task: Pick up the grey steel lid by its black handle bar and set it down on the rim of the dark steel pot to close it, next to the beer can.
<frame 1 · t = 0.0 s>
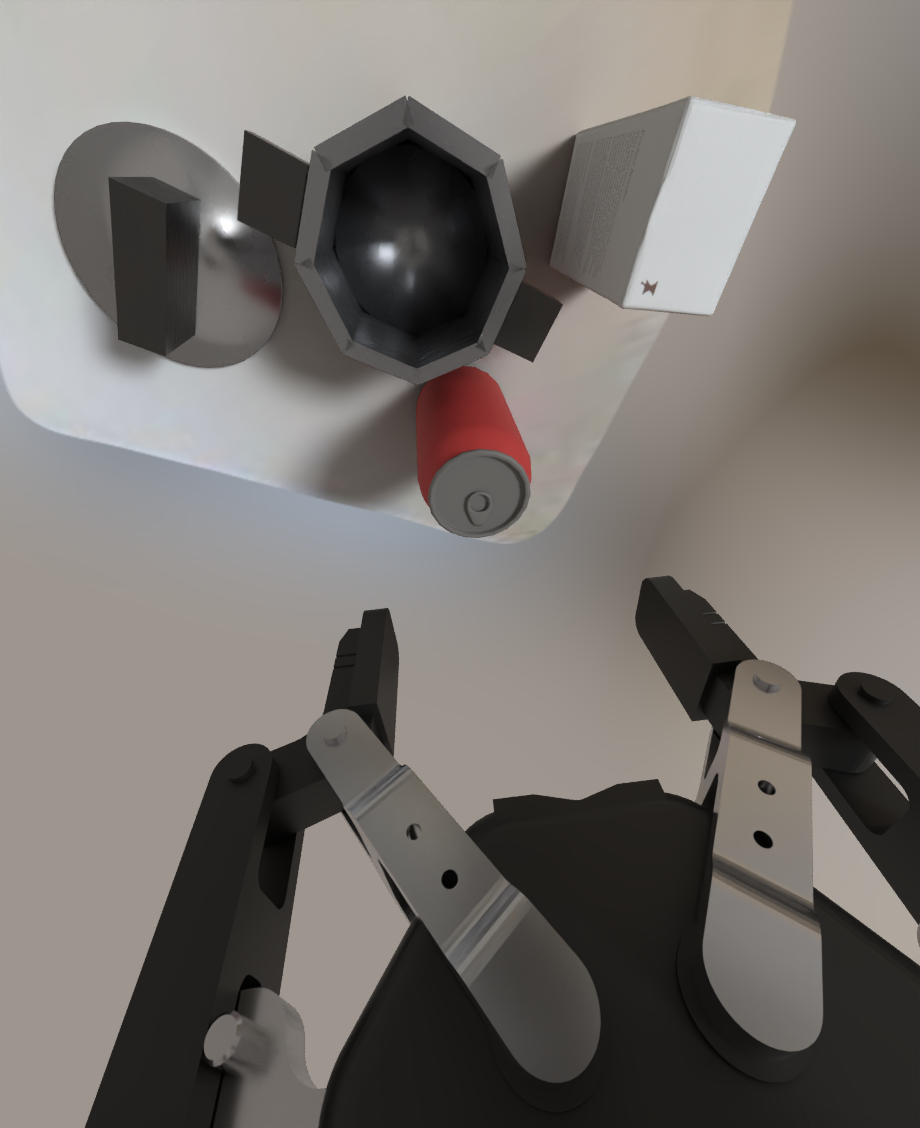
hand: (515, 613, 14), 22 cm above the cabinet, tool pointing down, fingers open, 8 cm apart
skincare box: (594, 207, 25), on the cabinet
lid: (181, 261, 25), on the cabinet
pot: (412, 248, 25), on the cabinet
beer can: (459, 408, 32), on the cabinet
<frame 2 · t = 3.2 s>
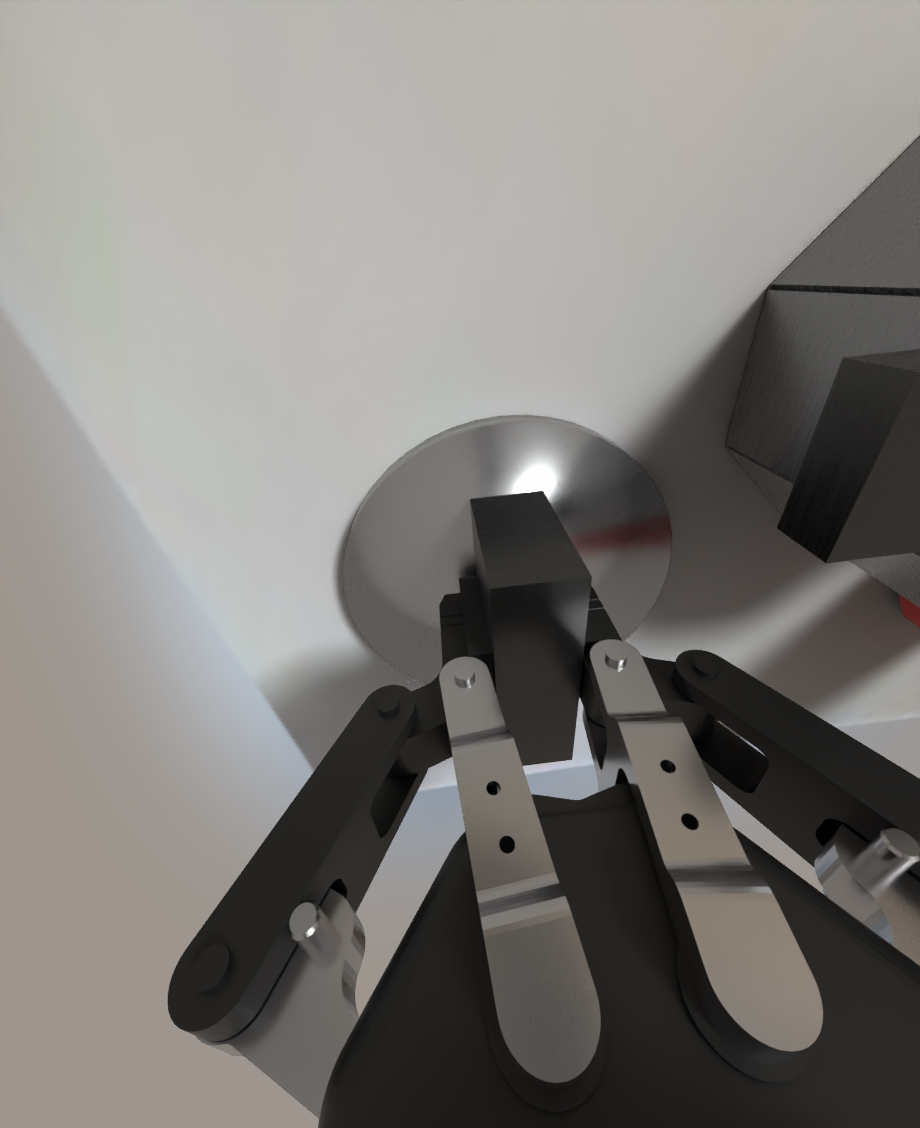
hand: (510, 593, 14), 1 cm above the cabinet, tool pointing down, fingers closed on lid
lid: (505, 573, 15), on the cabinet, touching gripper
pot: (918, 354, 12), on the cabinet
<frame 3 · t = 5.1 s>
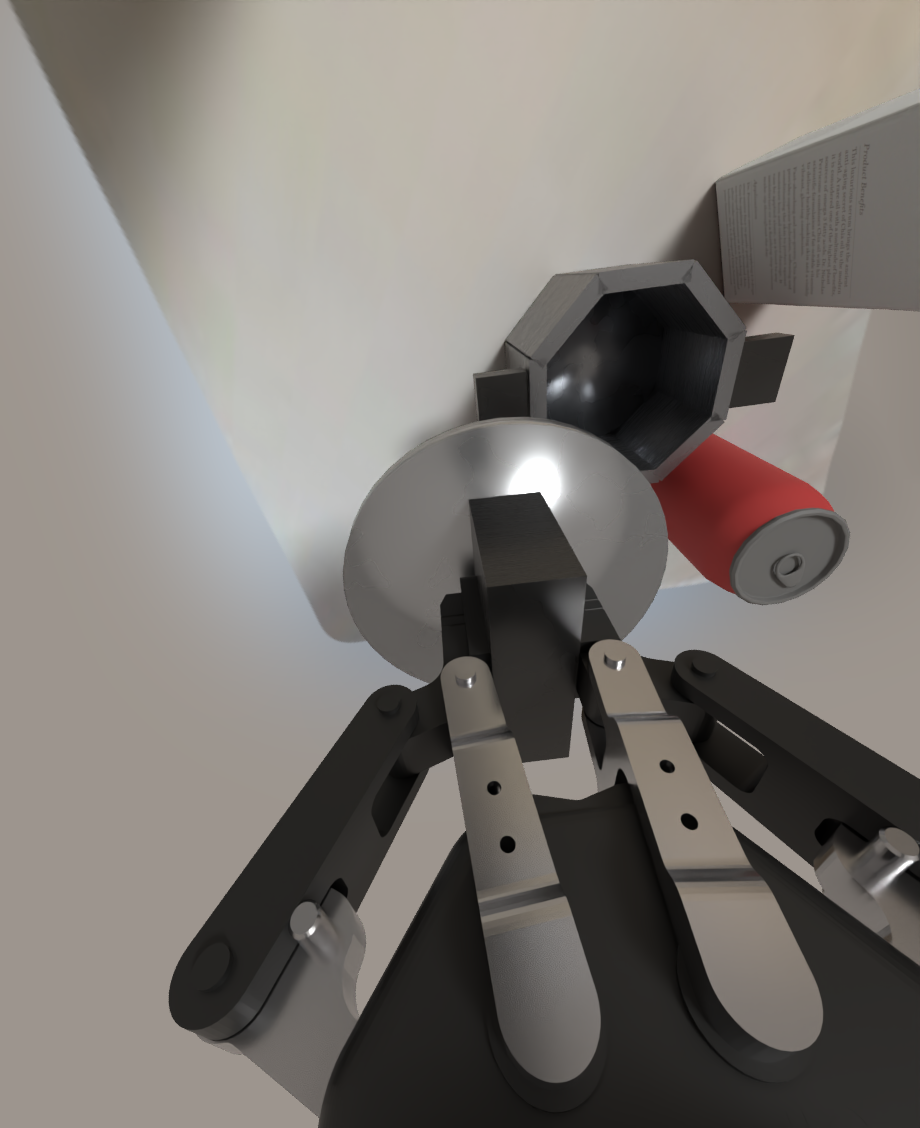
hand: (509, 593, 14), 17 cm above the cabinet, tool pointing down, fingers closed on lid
skincare box: (754, 225, 23), on the cabinet
lid: (503, 573, 16), point 15 cm above the cabinet, touching gripper
pot: (586, 367, 26), on the cabinet
beer can: (669, 469, 31), on the cabinet
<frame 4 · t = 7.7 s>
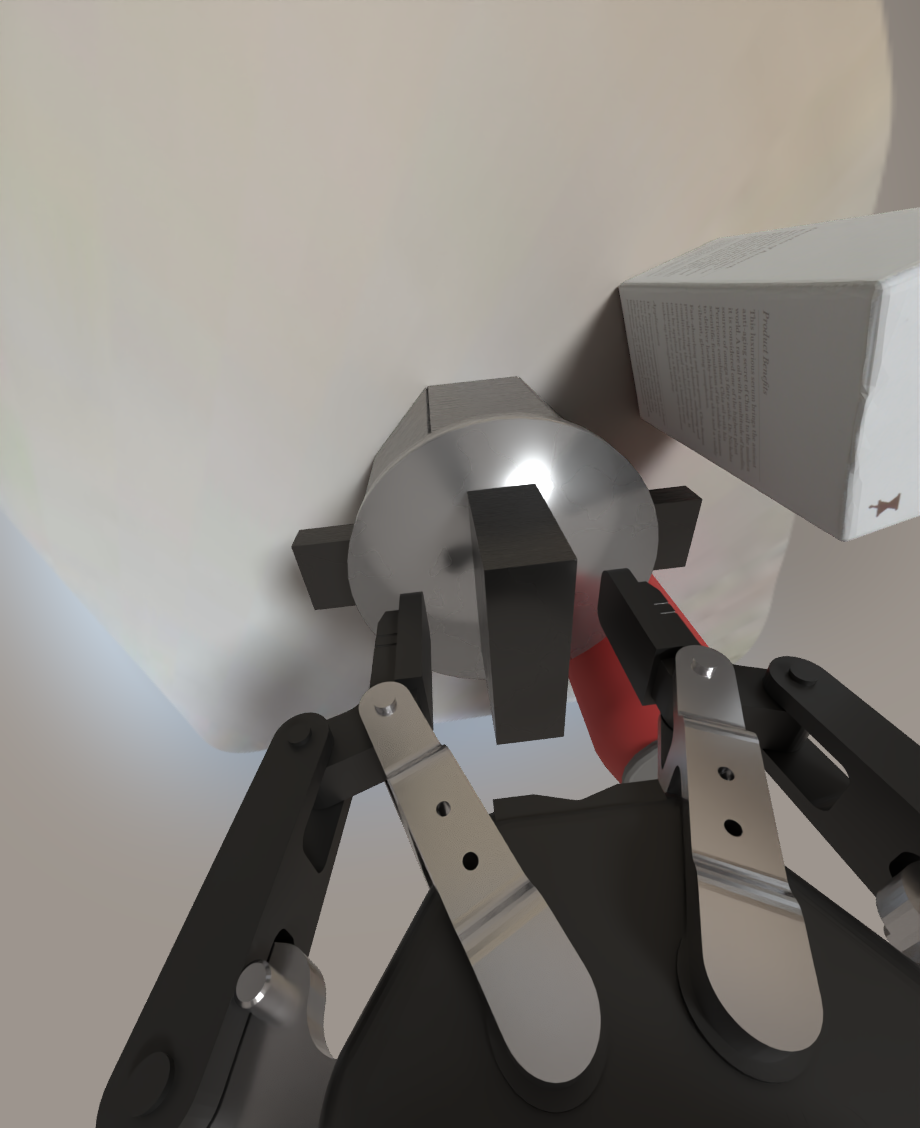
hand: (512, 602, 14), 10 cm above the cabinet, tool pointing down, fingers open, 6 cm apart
skincare box: (672, 333, 19), on the cabinet
lid: (501, 563, 16), point 7 cm above the cabinet, touching pot
pot: (479, 484, 22), on the cabinet
beer can: (591, 585, 26), on the cabinet
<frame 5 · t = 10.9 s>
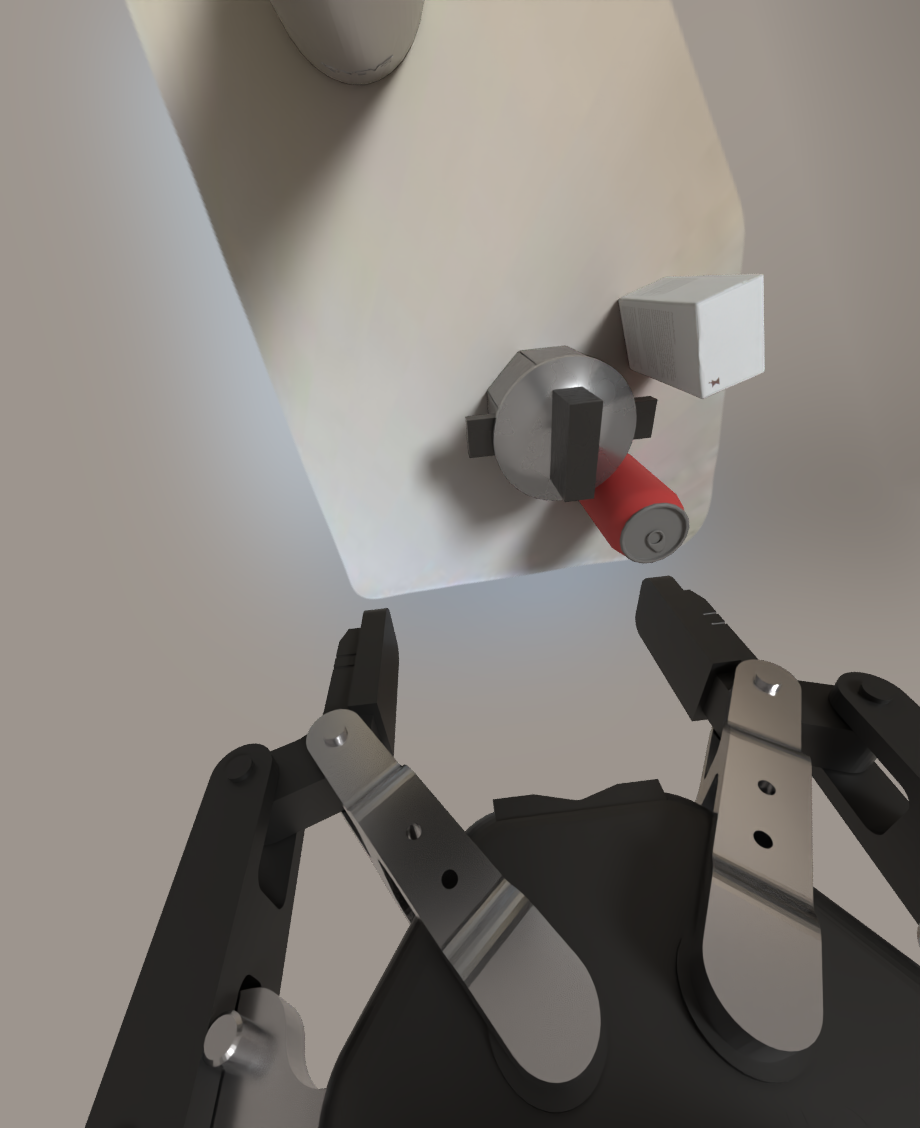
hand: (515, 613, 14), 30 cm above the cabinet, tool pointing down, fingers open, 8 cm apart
skincare box: (646, 323, 37), on the cabinet
lid: (562, 432, 34), point 7 cm above the cabinet, touching pot
pot: (541, 407, 40), on the cabinet
beer can: (601, 476, 44), on the cabinet
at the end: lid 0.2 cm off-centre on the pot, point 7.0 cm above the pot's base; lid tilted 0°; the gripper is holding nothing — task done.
